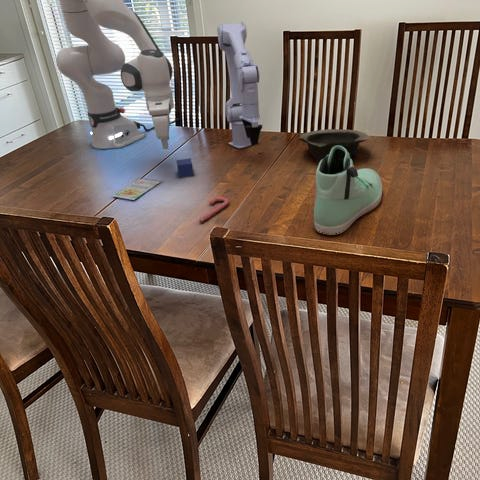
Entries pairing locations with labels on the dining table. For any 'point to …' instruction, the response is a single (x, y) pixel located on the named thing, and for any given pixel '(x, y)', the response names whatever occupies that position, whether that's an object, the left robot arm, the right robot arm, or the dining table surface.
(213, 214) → the candy cane
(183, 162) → the cube
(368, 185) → the sneaker
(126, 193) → the baking ingredient package
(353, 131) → the stone bowl
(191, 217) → the dining table surface
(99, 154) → the dining table surface
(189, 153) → the dining table surface
